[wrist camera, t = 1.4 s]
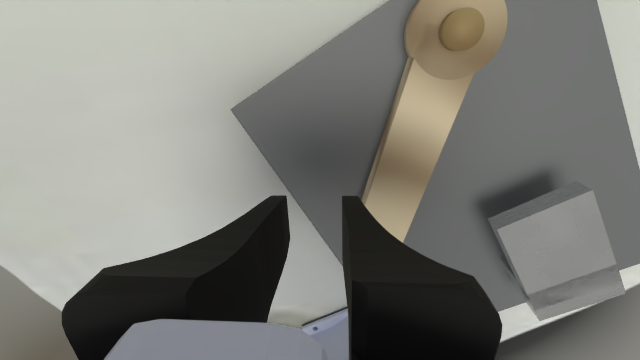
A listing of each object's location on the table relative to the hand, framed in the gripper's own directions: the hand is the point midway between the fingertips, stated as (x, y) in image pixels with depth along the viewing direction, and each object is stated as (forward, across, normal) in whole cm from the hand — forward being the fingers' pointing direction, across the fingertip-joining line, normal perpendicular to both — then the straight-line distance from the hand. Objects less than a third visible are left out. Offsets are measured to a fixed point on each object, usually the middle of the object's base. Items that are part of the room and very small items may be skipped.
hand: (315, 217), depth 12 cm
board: (+9, -9, +2) cm, 13 cm away
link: (+8, -5, -1) cm, 10 cm away
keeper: (+8, -14, +6) cm, 17 cm away
